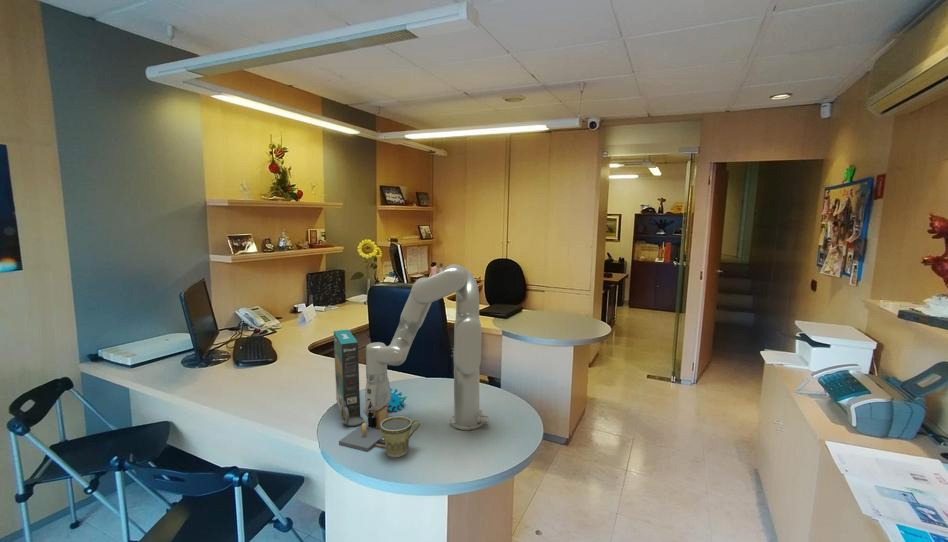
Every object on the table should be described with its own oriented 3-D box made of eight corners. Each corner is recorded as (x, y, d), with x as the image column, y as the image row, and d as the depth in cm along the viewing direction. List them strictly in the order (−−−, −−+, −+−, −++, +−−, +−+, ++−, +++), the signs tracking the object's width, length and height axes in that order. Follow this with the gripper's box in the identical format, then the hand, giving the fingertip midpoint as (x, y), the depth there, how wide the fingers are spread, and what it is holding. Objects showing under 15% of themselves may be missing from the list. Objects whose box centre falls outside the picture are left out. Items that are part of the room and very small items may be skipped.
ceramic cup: (384, 463, 131) (383, 433, 130) (378, 448, 140) (377, 419, 139) (424, 454, 137) (424, 424, 135) (416, 440, 146) (415, 412, 145)
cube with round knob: (387, 423, 158) (386, 403, 157) (380, 428, 154) (379, 409, 153) (376, 420, 160) (376, 401, 159) (369, 426, 156) (368, 407, 155)
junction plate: (398, 436, 148) (397, 421, 147) (378, 454, 137) (377, 437, 136) (361, 428, 154) (360, 413, 153) (338, 444, 143) (338, 428, 142)
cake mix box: (360, 417, 163) (357, 342, 159) (344, 420, 160) (341, 344, 157) (350, 397, 182) (348, 329, 179) (336, 399, 180) (333, 331, 176)
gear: (384, 412, 164) (379, 388, 169) (379, 418, 167) (374, 395, 173) (410, 408, 170) (404, 386, 176) (405, 415, 174) (399, 392, 179)
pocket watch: (367, 420, 160) (366, 395, 159) (353, 430, 152) (352, 404, 151) (349, 417, 163) (348, 392, 162) (335, 427, 155) (334, 401, 154)
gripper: (371, 386, 145) (372, 435, 147) (398, 370, 161) (399, 414, 163) (353, 383, 148) (355, 431, 150) (382, 367, 164) (383, 411, 166)
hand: (378, 422), depth 157 cm, fingers open, 6 cm apart
